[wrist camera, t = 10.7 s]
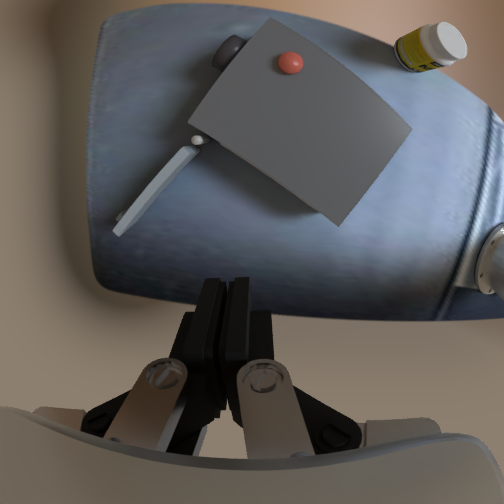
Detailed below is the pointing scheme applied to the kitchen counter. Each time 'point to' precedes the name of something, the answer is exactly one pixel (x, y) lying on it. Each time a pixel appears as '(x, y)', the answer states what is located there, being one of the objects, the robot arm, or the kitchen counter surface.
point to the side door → (155, 188)
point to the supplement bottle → (430, 47)
